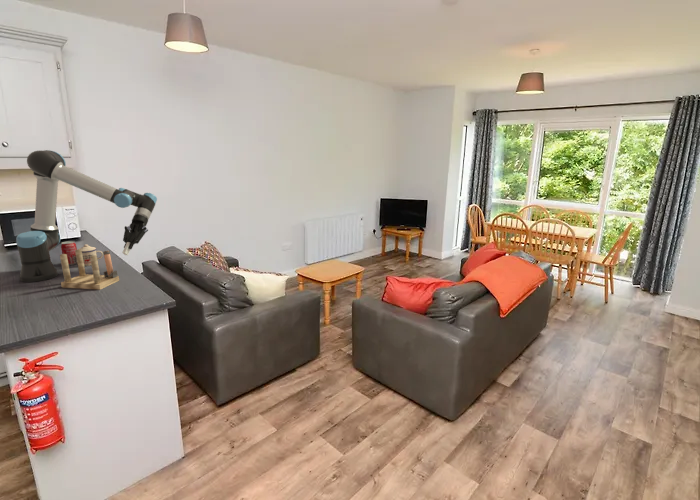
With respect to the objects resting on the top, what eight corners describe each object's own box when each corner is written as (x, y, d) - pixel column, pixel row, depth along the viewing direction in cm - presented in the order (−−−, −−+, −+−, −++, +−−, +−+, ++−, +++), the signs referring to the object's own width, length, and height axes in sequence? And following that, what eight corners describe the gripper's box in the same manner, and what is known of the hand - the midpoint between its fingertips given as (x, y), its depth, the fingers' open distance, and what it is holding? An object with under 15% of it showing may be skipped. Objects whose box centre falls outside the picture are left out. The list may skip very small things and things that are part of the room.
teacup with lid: (79, 267, 210) (75, 247, 207) (79, 263, 217) (76, 244, 214) (104, 264, 217) (101, 244, 214) (104, 260, 224) (101, 241, 221)
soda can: (82, 262, 219) (78, 241, 216) (72, 265, 212) (68, 243, 209) (71, 261, 220) (67, 240, 217) (61, 265, 213) (56, 243, 210)
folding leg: (106, 277, 187) (101, 252, 183) (110, 275, 189) (105, 250, 185) (111, 277, 187) (107, 252, 183) (115, 275, 189) (111, 250, 185)
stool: (61, 287, 180) (55, 255, 176) (82, 278, 192) (77, 248, 188) (100, 289, 178) (95, 257, 174) (119, 280, 190) (114, 250, 186)
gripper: (155, 221, 211) (140, 257, 200) (134, 220, 213) (117, 256, 201) (148, 214, 205) (132, 250, 193) (126, 213, 206) (109, 249, 195)
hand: (125, 253), depth 197 cm, fingers closed
